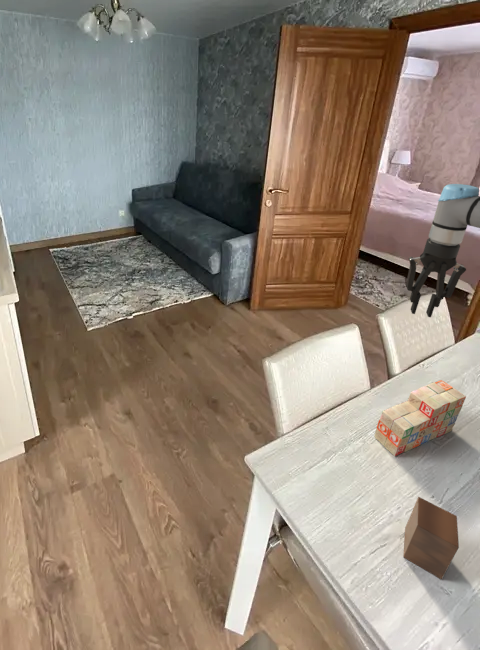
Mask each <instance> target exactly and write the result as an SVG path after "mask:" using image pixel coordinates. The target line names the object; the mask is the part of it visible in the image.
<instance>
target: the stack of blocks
mask: <svg viewBox="0 0 480 650" xmlns="http://www.w3.org/2000/svg"><path fill="white" fill-rule="evenodd" d="M466 398H467V396H466V395H465V394H463V393H462V392H461V391H459V390H458V389H456V388H454V387H453V386H451V385H450V384H449V383H447V382H445V381H444V380H443V379H440V380H438V381H434V382H431V383H430V384H427V385H423V386H421V387H419V388H416V389H414V390H412V391H410V393H409V395H408V398H407V400H406V401H404V402H401V403H398V404H395V405H393V406H391V407H389V408H386V409H384V410H382V411H381V414H380V418H379V419H378V422H377V425H376V429H375V431H374V434H373V437H374V438H375V439H376V440H377V441H378V442H379V443H380V444H381V445H382V446H383V447H384V448H385V449H386V450H387V451H388V452H389V453H390V454H391V455H392V456H394V457H396V456H399V455H400V454H402V453H407V452H408V451H411V450H413V449H415V448H416V447H419V446H421V445H423V444H425V443H428V442H429V441H432V440H433V439H437V438H439V437H441V436H444V435H446V434H448V433H450V432H452V431H453V429H454V426H455V424H456V422H457V419H458V416H459V414H460V412H461V411H462V408H463V405H464V403H465V400H466Z"/></svg>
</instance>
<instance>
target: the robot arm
mask: <svg viewBox="0 0 480 650" xmlns="http://www.w3.org/2000/svg"><path fill="white" fill-rule="evenodd" d="M431 222H432V223H431V226H430V229H429V232H428V235H427V237H428V238H427V239H426V241H425V245H424V248H423V252H422V253H421V254H420V256H417V257H413V256H410V257H408V262H409V268H408V273H407V277H406V283H405V287H406V290H407V291H408V292H411V293H410V297H409V301H410V303H411V306H410V312H411V314H412V315H416V312H417V310H418V306H419V302H420V300H421V296H422V295H421V290H422V288H423V286H424V284H425V282H426V280H427V279H428V276H430V275H431V273H437V277H436V288H435V293H432V294H431V296H430V300H429V303H428V306H427V308H426V311H425V312H426V316H427V317H428V318H432V316H433V312H434V310H435V308H439V307H440V304H441V301H442V300H444V298H447V299H450V298H451V297H452V295H453V293H454V291H455V290H456V287H457V285H458V282H459V281H460V278H461V276H462V275H463V274H464V273H466V271H467V268H466V267H465V265H464V264H462V263H461V264H460V263H458V262H457V261H458V260H457V257H458V255H459V252H460V248H461V244H462V243H463V240H464V237H465V234H466V231H467V229H468V226H469V227H474V228H478V229H480V188H479V187H477V186H473V185H469V184H462V183H448V184H446V185H445V186H443V188H442V191H441V194H440V196H439V198H438V200H437V206H436V209H435V213H434V217H433V220H432V221H431ZM420 262H421V264H422V269H421V271H420V274H418V275H419V276H418V277H417V279H416V280H415V277H416V273H417V266H418V265H419V264H420ZM452 268H453V271H452V273H451V275H450V277H449V280H448V282H447V284H446V286H445V281H446V280H445V279H446V275H447V272H448V271H449V270H450V269H452ZM414 281H415V282H414Z"/></svg>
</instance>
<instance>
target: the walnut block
mask: <svg viewBox="0 0 480 650" xmlns="http://www.w3.org/2000/svg"><path fill="white" fill-rule="evenodd" d="M458 528H459V527H458V516H457V515H456V514H454V513H451V512H449V511H448V510H446V509H443V508H441V507H440V506H438V505H436V504H434V503H432V502H430V501H428V500H426V499H424V498H423V497H420V496H418V497H417V499H416V501H415V504H414V505H413V508H412V510H411V513H410V516H409V518H408V521H407V523H406V525H405V527H404V539H403V540H404V542H403V555H402V556H403V558H404V559H405V560H407V561H409V562H411V563H412V564H414V565H416V566H418V567H419V568H420V569H422V570H424V571H426V572H427V573H430V574H431V575H433V576H434V577H436V578H438V579H439V580H443V578H444V576H445V574H446V572H447V571H448V569H449V567H450V566H451V563H452V561H453V559H454V558H455V556H456V554H457V551H458V550H459V548H460V546H459V545H460V543H459V530H458Z"/></svg>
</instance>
